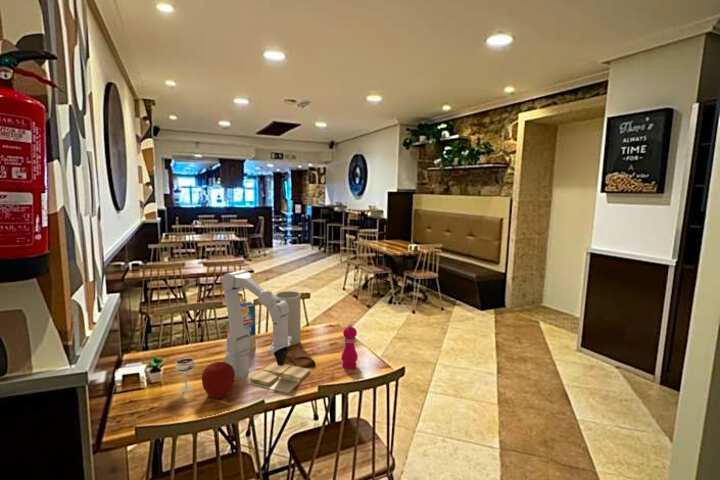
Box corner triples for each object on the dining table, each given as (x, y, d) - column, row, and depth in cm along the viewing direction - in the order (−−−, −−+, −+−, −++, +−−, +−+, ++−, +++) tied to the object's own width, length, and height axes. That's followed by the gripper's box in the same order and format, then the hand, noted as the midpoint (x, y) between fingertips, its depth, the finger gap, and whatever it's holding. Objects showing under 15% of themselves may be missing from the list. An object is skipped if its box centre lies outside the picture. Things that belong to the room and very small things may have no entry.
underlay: (245, 383, 154) (245, 383, 154) (272, 363, 171) (272, 362, 171) (288, 393, 147) (288, 392, 147) (310, 371, 165) (310, 371, 165)
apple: (240, 396, 144) (240, 363, 143) (210, 408, 136) (209, 373, 135) (227, 384, 153) (226, 352, 151) (197, 394, 145) (196, 361, 143)
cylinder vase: (270, 341, 195) (270, 294, 191) (289, 335, 204) (289, 289, 201) (286, 349, 187) (286, 299, 183) (305, 341, 196) (305, 294, 193)
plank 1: (249, 380, 154) (249, 378, 154) (261, 373, 162) (261, 370, 162) (268, 385, 151) (268, 382, 151) (279, 377, 159) (279, 374, 158)
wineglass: (190, 382, 154) (189, 354, 152) (198, 388, 149) (197, 359, 148) (173, 389, 148) (172, 360, 147) (181, 395, 144) (180, 365, 142)
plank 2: (271, 374, 152) (272, 371, 152) (280, 377, 158) (281, 374, 159) (291, 378, 149) (292, 375, 149) (299, 381, 155) (300, 378, 156)
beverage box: (229, 348, 186) (228, 305, 183) (251, 343, 192) (250, 301, 189) (233, 353, 180) (232, 309, 177) (255, 348, 186) (255, 305, 183)
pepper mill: (355, 371, 166) (356, 327, 163) (339, 369, 168) (340, 325, 165) (358, 363, 173) (359, 321, 170) (343, 362, 175) (344, 320, 172)
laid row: (262, 372, 162) (262, 369, 162) (273, 364, 170) (273, 361, 170) (300, 381, 156) (300, 378, 156) (310, 371, 164) (310, 369, 164)
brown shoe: (282, 355, 180) (289, 342, 181) (294, 359, 184) (301, 346, 185) (298, 371, 165) (305, 356, 166) (310, 375, 169) (317, 361, 170)
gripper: (279, 340, 140) (279, 375, 142) (298, 327, 154) (298, 358, 156) (262, 337, 143) (263, 371, 144) (283, 324, 156) (283, 356, 158)
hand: (280, 364), depth 150 cm, fingers closed
